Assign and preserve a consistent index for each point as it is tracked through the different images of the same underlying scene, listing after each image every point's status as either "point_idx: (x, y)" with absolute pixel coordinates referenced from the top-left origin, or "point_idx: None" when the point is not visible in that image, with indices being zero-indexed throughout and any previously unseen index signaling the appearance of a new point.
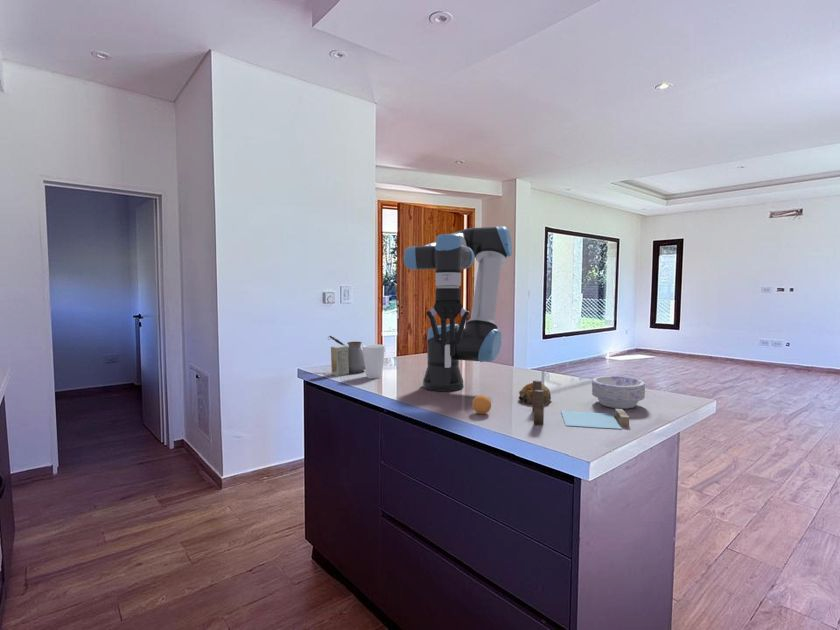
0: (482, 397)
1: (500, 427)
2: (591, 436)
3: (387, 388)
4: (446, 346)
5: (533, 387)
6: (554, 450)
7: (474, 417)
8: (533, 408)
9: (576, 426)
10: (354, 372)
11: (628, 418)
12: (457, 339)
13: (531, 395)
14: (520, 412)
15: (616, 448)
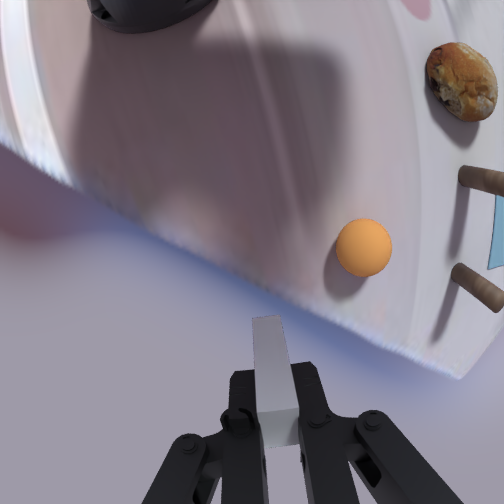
0: (376, 269)
1: (393, 322)
2: None
3: (18, 85)
4: (275, 443)
5: (500, 191)
6: (441, 373)
7: (338, 277)
8: (464, 183)
9: (497, 266)
10: None
11: None
12: (363, 466)
13: (468, 114)
14: (437, 198)
15: (499, 332)
